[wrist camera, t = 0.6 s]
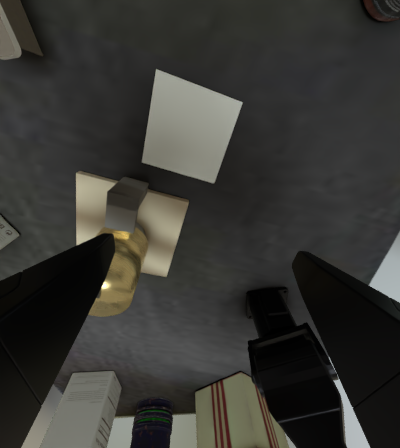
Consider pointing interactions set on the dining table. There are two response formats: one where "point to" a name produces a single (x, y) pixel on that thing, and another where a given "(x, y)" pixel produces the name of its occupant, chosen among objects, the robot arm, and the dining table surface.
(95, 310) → the brass bell
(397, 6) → the supplement bottle
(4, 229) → the skincare box
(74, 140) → the dining table surface
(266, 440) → the gift box
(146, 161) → the grey mat
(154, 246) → the cream slotted block
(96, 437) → the supplement box
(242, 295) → the dining table surface
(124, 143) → the dining table surface
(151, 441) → the storage jar
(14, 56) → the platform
